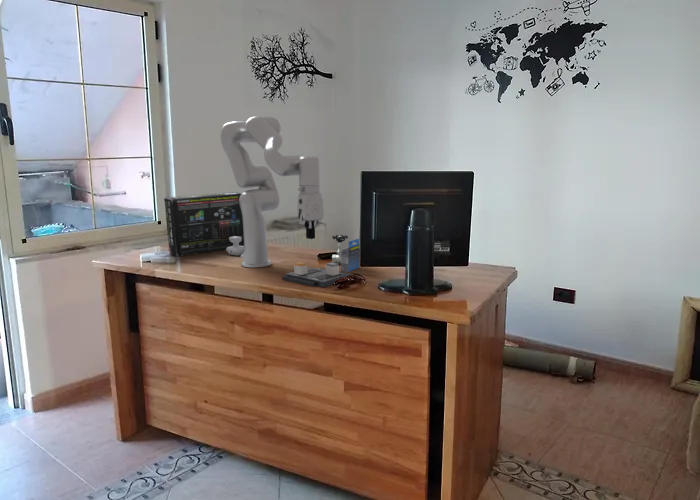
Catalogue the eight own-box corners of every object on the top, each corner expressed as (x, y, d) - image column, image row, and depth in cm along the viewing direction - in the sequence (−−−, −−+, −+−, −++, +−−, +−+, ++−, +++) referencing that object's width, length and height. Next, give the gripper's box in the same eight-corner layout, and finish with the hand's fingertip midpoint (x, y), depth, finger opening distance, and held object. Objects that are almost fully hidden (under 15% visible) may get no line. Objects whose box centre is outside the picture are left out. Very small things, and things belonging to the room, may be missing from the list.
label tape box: (351, 266, 230) (351, 237, 228) (360, 267, 228) (360, 238, 226) (340, 271, 223) (339, 240, 220) (349, 272, 220) (348, 241, 218)
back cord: (317, 271, 223) (317, 268, 222) (320, 270, 224) (320, 267, 223) (351, 278, 211) (351, 275, 211) (354, 277, 212) (354, 274, 212)
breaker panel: (285, 278, 211) (285, 273, 211) (311, 272, 221) (311, 266, 221) (323, 287, 198) (323, 281, 198) (349, 279, 208) (349, 274, 208)
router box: (236, 244, 284) (233, 191, 279) (246, 247, 275) (243, 193, 270) (166, 253, 263) (162, 196, 258) (175, 257, 254) (170, 198, 249)
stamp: (234, 257, 252) (233, 238, 250) (224, 255, 256) (223, 237, 254) (248, 253, 259) (247, 236, 258) (238, 252, 263) (237, 234, 261)
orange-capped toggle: (294, 273, 210) (293, 263, 209) (300, 272, 212) (299, 261, 212) (301, 275, 208) (301, 264, 207) (307, 273, 210) (307, 263, 209)
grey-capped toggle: (325, 274, 209) (325, 263, 208) (331, 272, 211) (331, 262, 210) (333, 275, 206) (333, 265, 205) (339, 274, 208) (339, 263, 207)
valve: (346, 266, 232) (346, 237, 229) (331, 265, 233) (330, 237, 231) (349, 262, 238) (349, 234, 236) (334, 262, 239) (334, 234, 237)
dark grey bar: (282, 279, 210) (282, 276, 210) (284, 279, 211) (284, 275, 211) (312, 286, 200) (312, 283, 199) (315, 285, 201) (314, 282, 200)
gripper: (302, 192, 200) (303, 242, 204) (330, 188, 211) (331, 236, 215) (287, 190, 205) (289, 240, 209) (316, 187, 216) (317, 234, 220)
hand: (310, 238), depth 212 cm, fingers closed
